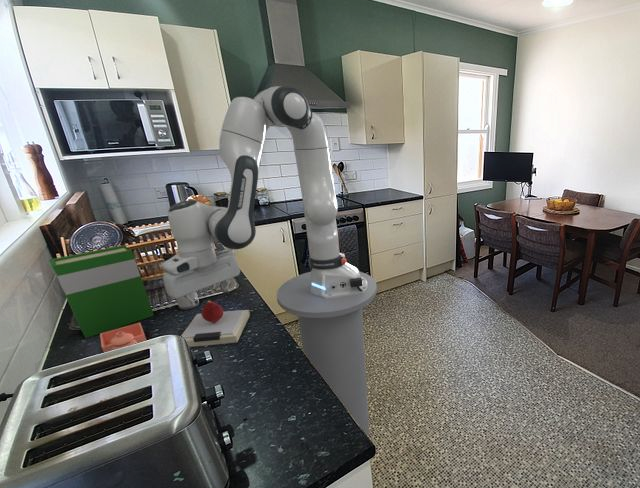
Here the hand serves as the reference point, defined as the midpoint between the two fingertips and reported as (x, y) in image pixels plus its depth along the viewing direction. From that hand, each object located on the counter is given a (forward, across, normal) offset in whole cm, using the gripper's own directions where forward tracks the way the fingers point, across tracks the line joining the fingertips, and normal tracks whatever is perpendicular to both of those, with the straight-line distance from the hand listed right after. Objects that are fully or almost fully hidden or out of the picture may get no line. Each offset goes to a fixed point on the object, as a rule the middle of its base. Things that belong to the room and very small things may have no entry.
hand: (211, 298), depth 107 cm
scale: (+12, +1, -1) cm, 12 cm away
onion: (+9, +1, -1) cm, 9 cm away
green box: (+11, +16, -32) cm, 37 cm away
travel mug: (+12, -2, -25) cm, 27 cm away
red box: (+11, +21, -10) cm, 26 cm away
